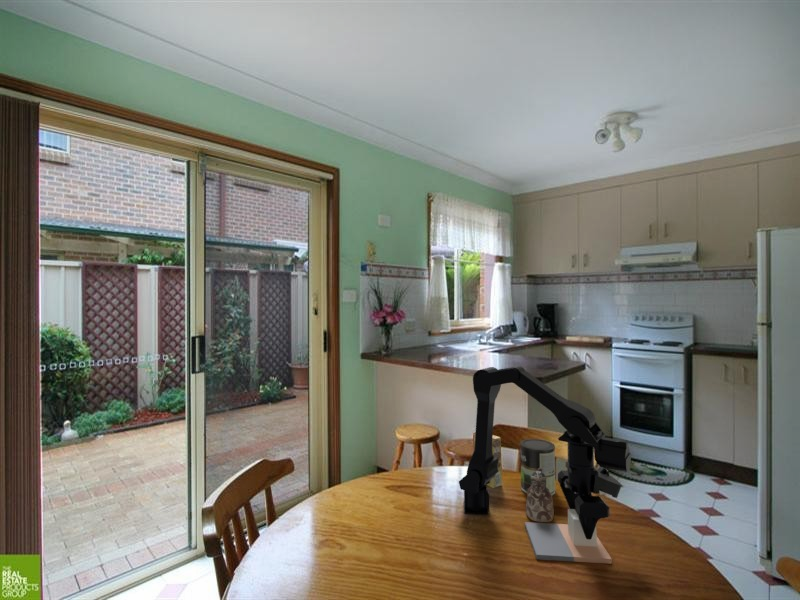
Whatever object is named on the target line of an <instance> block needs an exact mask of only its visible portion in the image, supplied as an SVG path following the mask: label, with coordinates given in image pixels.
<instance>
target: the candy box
mask: <svg viewBox="0 0 800 600" xmlns="http://www.w3.org/2000/svg"><path fill="white" fill-rule="evenodd" d="M472 436H473V437H472V441H473V442H472V443H473V449H474V448H475V432H472ZM501 442H502V441H501V437H500V436H497V435H494V434H493V436H492V454H493V456H494V458H498V459H499V461H498V466H497V467H498V473H496V475H495V477H494V478H493V479H491V480H490V483H489V484H487V485H486V486H488V487H490V488H492V489H495V488H498V487H500V486H502V485H503V481H502V480H503V479H502V478H503V477H502V476H503V474H502V473H503V472H502V443H501Z"/></svg>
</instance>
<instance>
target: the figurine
mask: <svg viewBox="0 0 800 600" xmlns="http://www.w3.org/2000/svg"><path fill="white" fill-rule="evenodd" d="M531 484H532V485H531V486H530V488H529V489H528V492H527V493H526V503H525V504H526V505H525V514H526V516H527V517H528V518H529V519H530V520H532V521H535V522H536V523H551V522H552V521H553V519H554V515H555V513H554V512H555V510H554V509H555V508H554V501H553V496H552V495H551V493H550V491H549V489H548V488H547V487H546V476H545V474H544V473H543V472H542V469H541V468H538V471H535V472H533V474H532V476H531Z"/></svg>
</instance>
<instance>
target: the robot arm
mask: <svg viewBox="0 0 800 600" xmlns="http://www.w3.org/2000/svg"><path fill="white" fill-rule="evenodd" d="M511 383H512V384H514V385H516V386H517V387H518V388H520V389H521V390H523V392H525V393H526V394H527V395H528V396H530V397H532V399H534V400H535V401H536V402H538V403H539V404H541V405H542V406H543V407H545V408H546V409H547V410H548V411H550V412H551V413H552V414H553V415H554V417H555V419H556V420H557V422H558V423H559V424H560V425H561V426H562V427H563V428H564V429H565V431H564V432H563V433H562V435H560V436H559V437H558V439H557V440H558V441H559V442H564V443H565V442H566V443H567V461H565V462H564V464H565V467H566V469H567V470H564V469H563V470H560V471H559V472H558V473H557V482H558V483H559V487H560V489H561V492H562V494H563V496H564V499H565V500H566V502H567V506H568V509H575V511H576V513H577V516H578V519H579V521H580V524H581V527H582V529H583V532H584V535H585V537H586V539H592V536H593V533H594V530H595V527H596V528H597V524H598V521H599V520H601V519H606V518H609V517H610V507H609V506H608V504H607V503H606V502H605V500H604V499H602V498H601V496H599V494H601V493H600V492H602V493H604V494H607V495H610V496H611V497H612V498H616V499H617V498H618V497H619V494H620V491H621V489H622V484H621V483H620V482H619V480H617V479H616V478H615V477H614V476H612V475H610V471H609V470H613V471H619V472H623V473H630V470H631V463H632V461H631V460H632V455H631V454H632V453H631V452H630V451H631V450H630V447H629V441H628V440H627V439H621V438H620V439H616V438H611V437H606V434H605V432H604V431H603V430H602V428H601V427H600V425H599V424H598V422H597V421H596V417H595V416H596V415H595V413H594V412H593V411H592V410H591V409H590V408H588V407H585V406H584V405H582V404H580V403H578V402H575V401H573V400H570V399H567V398H565V397H563V396H562V395H560V394H559V393H557V392H556V391H554V390H553V389H551V388H550V387H549V386H547V385H546V384H545V383H543V382H542V381H541V380H539V379H538V378H537V377H535V376H534V375H532V374H531V373H530V372H528V371H527V370H525V368H524V367H523V366H521V365H516V366H512V367H506V368H505V367H504V368H500V369H498V368H496V367H494V366H490V367H485V368H482V369H479V370H478V369H477V370H476V372H474V373H473V376H472V384H473V385H472V386H473V392H474V395H475V396H476V399H477V403H476V419H475V432H474V433H475V448H474V447H473V453H472V455H471V457H470V459H469V462H468V465H467V469H466V475H464V476H463V477H462V478H461V479H460V480H459V481H458V484H459V488H460V490H461V491H463V513H464V514H474V515H488V514H489V509H490V492H489V490H488V488H487V486H488V485H487V484H489V483H490V480H491V479H493V478H494V477H495V475H496V473H498V467H497V466H498V461H499V459H498V458H494V456H493V454H492V436H493V435H494V434H493V433H494V417H495V406H496V405H495V403H496V399H497V398H498V395H499V393H500V390H501V386H502V385H506V384H511ZM595 462H596V464H597V465H599V468H597V469H596V468H595ZM592 493H593V494H596V495H592ZM597 494H598V495H597Z"/></svg>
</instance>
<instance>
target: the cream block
mask: <svg viewBox="0 0 800 600" xmlns="http://www.w3.org/2000/svg"><path fill="white" fill-rule="evenodd" d="M567 524H568V534H569V536H570V538H571V540H572V542H573V544H574V545H576V546H592V547H597V537H598V536H597V534H598V533H597V532H598V531H597V526H596V527H595V530H594V533H593V536H592V539H586V537H585V535H584V532H583V529H582V527H581V524H580V521H579V519H578V516H577V513H576V511H575V509H570V508H567Z"/></svg>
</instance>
